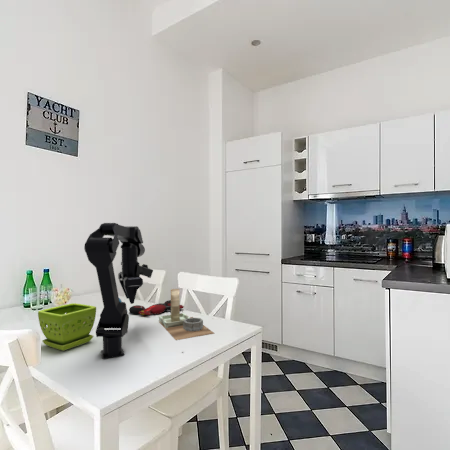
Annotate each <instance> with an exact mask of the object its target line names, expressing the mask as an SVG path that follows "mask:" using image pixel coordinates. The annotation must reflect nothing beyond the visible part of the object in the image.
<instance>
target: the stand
mask: <svg viewBox="0 0 450 450" xmlns="http://www.w3.org/2000/svg"><path fill="white" fill-rule="evenodd" d="M158 322H159V324H160V325H161V326H162V327H163V328H164V330H165V331H167V332H168V334H169V335H170V336H171V337H172V338H173V339H174V340H175V341H180V340H185V339H186V340H187V339H192V338H198V337H202V336H209V335H214V334H215V332H213V331H212V330H211V329H209V327H207V326H206V325H205V324H204V319H203V318H201V317H193V316H188V315H187V314H186V313H185V312H182V313H180V321H175V322H171V314H166V315H159V316H158Z"/></svg>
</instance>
